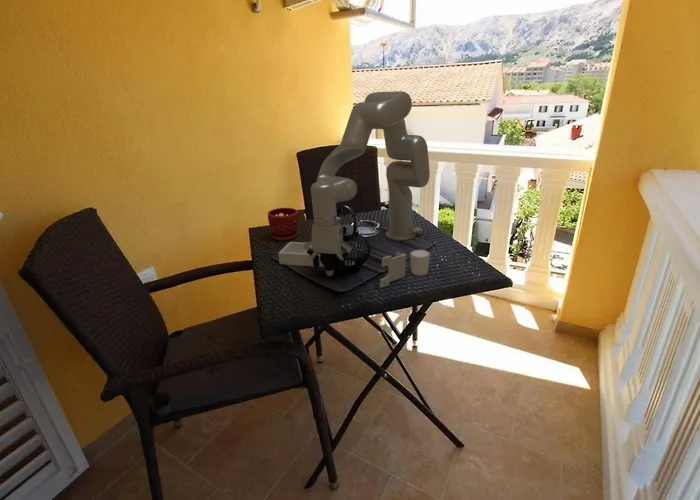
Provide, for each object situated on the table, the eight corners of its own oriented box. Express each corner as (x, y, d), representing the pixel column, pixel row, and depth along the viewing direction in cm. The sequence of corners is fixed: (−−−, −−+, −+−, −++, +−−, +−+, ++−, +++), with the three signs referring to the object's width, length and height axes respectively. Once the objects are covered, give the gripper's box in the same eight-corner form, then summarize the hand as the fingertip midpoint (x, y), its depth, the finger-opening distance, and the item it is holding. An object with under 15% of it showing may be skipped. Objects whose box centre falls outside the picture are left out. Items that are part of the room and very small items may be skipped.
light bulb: (340, 272, 131) (338, 246, 127) (335, 280, 126) (333, 253, 122) (324, 271, 133) (322, 245, 129) (319, 279, 128) (316, 252, 124)
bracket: (394, 275, 130) (396, 248, 127) (404, 279, 127) (406, 251, 124) (371, 283, 123) (373, 254, 119) (381, 287, 119) (383, 258, 116)
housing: (338, 255, 145) (337, 240, 143) (330, 267, 136) (328, 252, 133) (291, 252, 151) (289, 238, 148) (279, 263, 141) (277, 249, 138)
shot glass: (406, 269, 131) (406, 251, 128) (423, 265, 133) (423, 247, 130) (415, 278, 125) (416, 259, 122) (433, 273, 127) (434, 255, 124)
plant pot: (280, 245, 158) (276, 218, 153) (265, 237, 168) (261, 211, 163) (306, 236, 165) (303, 210, 161) (290, 229, 175) (287, 205, 170)
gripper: (354, 217, 122) (356, 265, 129) (304, 215, 127) (309, 261, 134) (348, 225, 116) (351, 275, 123) (296, 223, 120) (301, 271, 127)
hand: (329, 268), depth 128 cm, fingers open, 8 cm apart
